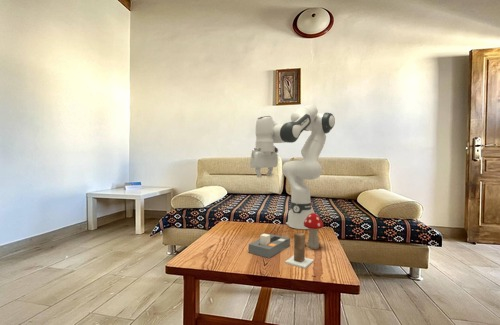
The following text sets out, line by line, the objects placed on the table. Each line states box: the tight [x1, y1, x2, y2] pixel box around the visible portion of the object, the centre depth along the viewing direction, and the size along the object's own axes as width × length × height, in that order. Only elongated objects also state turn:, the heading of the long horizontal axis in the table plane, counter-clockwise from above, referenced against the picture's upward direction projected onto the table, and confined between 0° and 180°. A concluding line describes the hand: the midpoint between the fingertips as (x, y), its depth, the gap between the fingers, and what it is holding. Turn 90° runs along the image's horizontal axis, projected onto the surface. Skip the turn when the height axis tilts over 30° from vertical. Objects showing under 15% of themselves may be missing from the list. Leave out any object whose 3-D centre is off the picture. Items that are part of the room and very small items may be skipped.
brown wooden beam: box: [293, 232, 306, 263], centre depth 90 cm, size 3×3×10 cm
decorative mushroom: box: [304, 212, 324, 250], centre depth 107 cm, size 10×9×15 cm
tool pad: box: [285, 254, 314, 269], centre depth 90 cm, size 8×8×1 cm
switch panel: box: [248, 233, 291, 259], centre depth 103 cm, size 18×10×4 cm, turn 144°
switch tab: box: [260, 233, 270, 246], centre depth 100 cm, size 3×3×5 cm
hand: (264, 176), depth 118 cm, fingers open, 8 cm apart
